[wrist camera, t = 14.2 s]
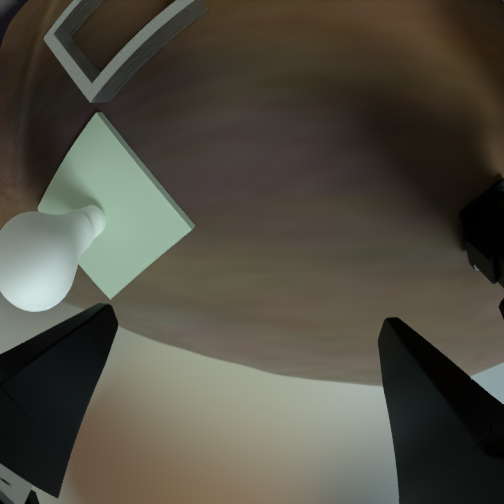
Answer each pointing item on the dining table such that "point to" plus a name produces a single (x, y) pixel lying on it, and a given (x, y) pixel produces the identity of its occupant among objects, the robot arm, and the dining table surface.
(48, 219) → the lightbulb
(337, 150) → the dining table surface
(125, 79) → the grey square frame
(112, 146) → the green mat
